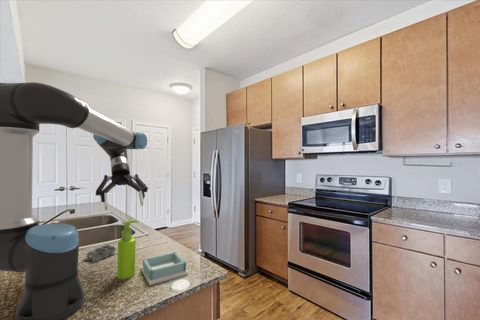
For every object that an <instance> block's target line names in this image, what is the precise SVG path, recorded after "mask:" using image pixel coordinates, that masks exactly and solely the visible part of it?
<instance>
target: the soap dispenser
mask: <svg viewBox="0 0 480 320" xmlns="http://www.w3.org/2000/svg"><path fill="white" fill-rule="evenodd" d="M121 223H122V225H123V226H124V229H123V230H121V238H120V239H117V267H116V268H117V276H116V278H118V279H119V280H127V279H130V278H132V277H134V276H135V274H136V238H135V237H133V229H130V227H131V226H130V224H133V223H139V221H138V220H136V219H133V220H131V219H130V220H126V221H122V222H121Z"/></svg>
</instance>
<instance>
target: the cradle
mask: <svg viewBox="0 0 480 320" xmlns="http://www.w3.org/2000/svg"><path fill="white" fill-rule="evenodd" d="M140 270H141V272H142V274H143V276H144V277H145V279H146V282H147V284H148V285H149V286H151V285H155V284H158V283H162V282H166V281H169V280H173V279H176V278H180V277H183V276H187V275H189V270H187V262H186V261H185V260H184V259H183V257H181V256H180V255H179V254H178V253H177V252H176V251H173V252H169V253H164V254H160V255H155V256H151V257H146V258H143V259H142V265H141V266H140Z"/></svg>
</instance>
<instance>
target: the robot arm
mask: <svg viewBox="0 0 480 320" xmlns="http://www.w3.org/2000/svg"><path fill="white" fill-rule="evenodd" d="M45 124H46V125H58V126H63V127H67V128H69V129H81V130H82V131H84V132H88V133H90V134H92V135H93V136H92V137H93V140H94V141H95V142H96V144H97V145H98V146H100V148H102V150H104V152H105V153H106V154H107V155H108V157H109V160H110V169H111V171H110V172H111V176H110V175H109V176H108V175H107V174H105V175H104V176H103V180H102V181H101V183H100V184H99V186H98V187H97V188H96V190H95V196H97V197H98V196H100V202H101V203H104V210H106V211H107V209H108V195H107V194H108V193H109V192H110V191H112V189H113V188H114V187H116V186H126V185H127V186H129V187H131V188H132V189H134V190H135V191H137V192H138V197H139V201H140V202H139V203H140V207H143V206H144V203H145V201H144V199H145V197H146V194H145V193H147V192H148V190H149V188H148V186H147V185H146V184H145V183H144V182H143V180H141V178H139V174H137V173H136V174H134V175H131V172H130V171H131V170H130V164H129V159H128V151H127V150H144V149H145V148H146V147H147V146H148V137H147V135H146V133H144V132H138V131H137V132H134V131H133V130H131V129H128V128H127V127H125V126H123V125H122V124H120V123H118V122H116V121H114V120H112V119H111V118H109V117H107V116H105V115H103V114H101V113H99V112H97V111H96V110H94V109H93V108H90V107H89V105H88V103H86V102H85V101H84V100H82V99H81V98H79V97H77V96H75V95H73V94H71V93H69V92H67V91H64V90H63V89H60V88H58V87H55V86H52V85H50V84H46V83H43V82H42V83H41V82H34V81H33V82H8V83H7V82H0V272H3V271H4V272H14V273H24V275H25V277H24V278H25V279H24V282H25V284H24V291H23V292H22V293H23V294H22V295H21V297H20V298H21V299H20V300H19V303H18V306H17V308H16V312H15V320H64V319H66V318H68V317H70V316H71V315H73V314H74V313H75V312H77V311H78V310H80V308H82V306H83V305H84V303H85V290H84V288H83V285H82V283H81V281H80V278H79V254H80V253H79V248H80V247H79V246H80V238H79V231H78V229H77V228H76V227H75V226H74V225H72V224H68V223H59V222H58V223H45V224H40V225H39V218H37V217H36V216H34V215H33V160H34V159H33V155H34V154H33V153H34V151H33V149H34V147H33V146H34V144H33V141H34V140H33V139H34V136H36V135H37V134H39V133H40V125H45ZM109 181H111V182H110V183H109V184H108V185H107V183H108V182H109ZM104 187H105V188H104Z"/></svg>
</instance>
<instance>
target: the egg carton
mask: <svg viewBox="0 0 480 320" xmlns="http://www.w3.org/2000/svg"><path fill="white" fill-rule="evenodd" d="M116 250H117V247H115V246H112V245H110V244H107V243H105V244H104V245H103V246H100V247H99V246H98V247H97V248H94V249H92V250H87V251H86V252H85V253H84V254H85V255H86V260H87V261H92V262H93V263H95V262H100V261H101V259H107V258H108V257H109V256H114V255H115V253H116Z"/></svg>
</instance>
